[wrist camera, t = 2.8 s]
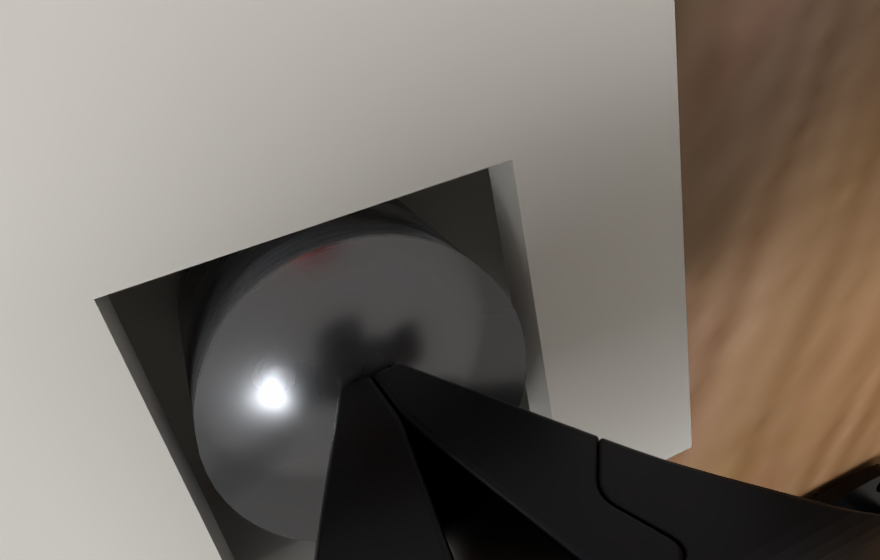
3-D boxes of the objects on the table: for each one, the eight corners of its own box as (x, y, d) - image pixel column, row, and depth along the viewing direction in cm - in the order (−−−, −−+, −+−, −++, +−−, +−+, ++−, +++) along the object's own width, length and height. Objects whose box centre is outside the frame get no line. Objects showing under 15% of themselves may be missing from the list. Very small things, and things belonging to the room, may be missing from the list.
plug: (406, 138, 12) (499, 192, 9) (456, 358, 14) (544, 462, 11) (132, 223, 10) (135, 319, 7) (230, 449, 12) (262, 594, 10)
